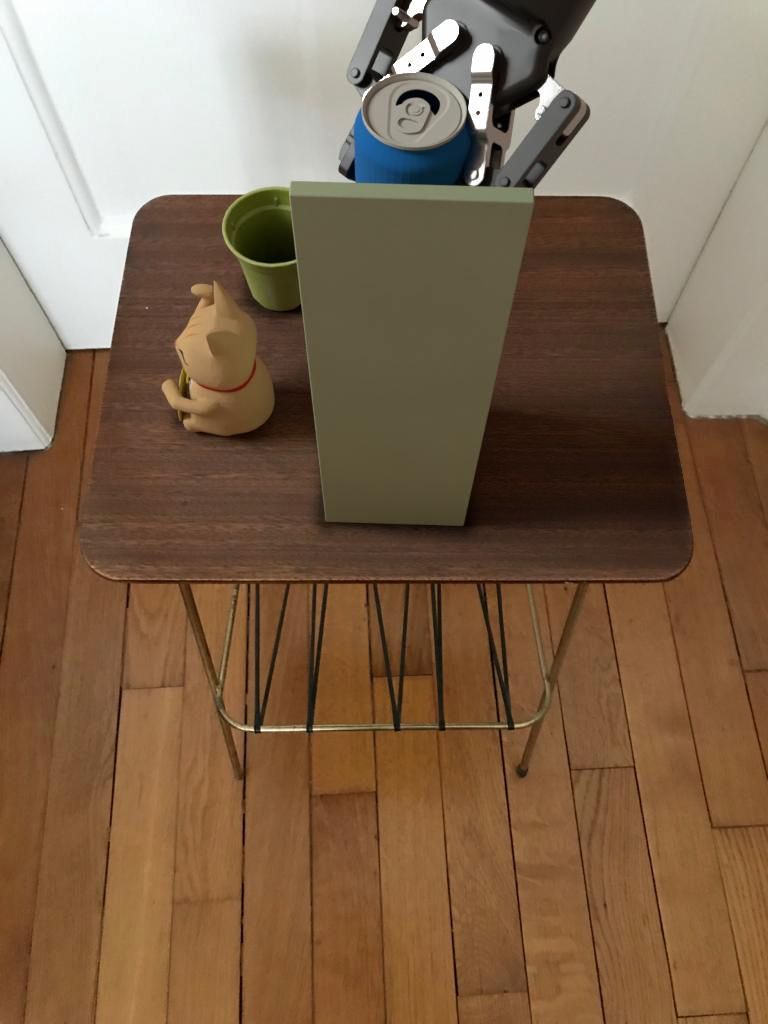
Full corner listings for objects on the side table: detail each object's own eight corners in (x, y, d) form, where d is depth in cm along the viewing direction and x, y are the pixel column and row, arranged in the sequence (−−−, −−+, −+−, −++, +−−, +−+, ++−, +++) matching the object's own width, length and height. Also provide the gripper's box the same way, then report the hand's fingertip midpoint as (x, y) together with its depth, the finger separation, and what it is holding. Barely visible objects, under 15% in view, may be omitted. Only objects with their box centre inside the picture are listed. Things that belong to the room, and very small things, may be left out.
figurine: (178, 364, 85) (141, 255, 71) (281, 368, 85) (263, 260, 71) (165, 443, 81) (124, 344, 68) (273, 447, 81) (253, 348, 68)
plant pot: (329, 250, 91) (325, 185, 83) (330, 325, 87) (325, 265, 79) (237, 251, 91) (224, 186, 83) (233, 327, 87) (219, 266, 79)
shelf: (462, 405, 83) (524, 31, 49) (463, 526, 78) (534, 202, 44) (333, 401, 83) (305, 25, 49) (325, 522, 78) (288, 195, 44)
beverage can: (469, 238, 59) (489, 82, 48) (440, 313, 57) (454, 166, 46) (376, 214, 60) (376, 55, 49) (343, 286, 57) (335, 135, 47)
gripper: (425, -181, 44) (270, 132, 51) (654, -47, 40) (451, 275, 47) (485, -112, 51) (341, 158, 58) (689, 10, 47) (506, 285, 54)
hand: (391, 209), depth 52 cm, fingers closed on beverage can, 6 cm apart
